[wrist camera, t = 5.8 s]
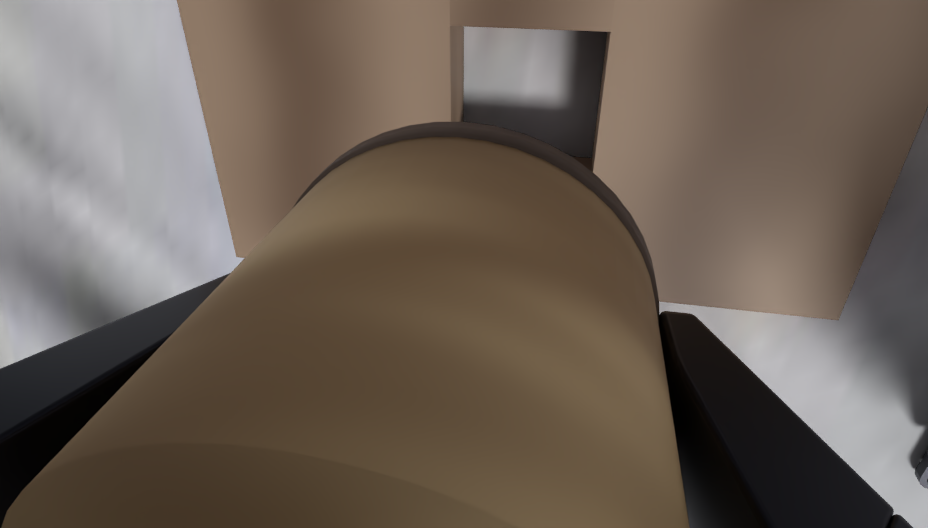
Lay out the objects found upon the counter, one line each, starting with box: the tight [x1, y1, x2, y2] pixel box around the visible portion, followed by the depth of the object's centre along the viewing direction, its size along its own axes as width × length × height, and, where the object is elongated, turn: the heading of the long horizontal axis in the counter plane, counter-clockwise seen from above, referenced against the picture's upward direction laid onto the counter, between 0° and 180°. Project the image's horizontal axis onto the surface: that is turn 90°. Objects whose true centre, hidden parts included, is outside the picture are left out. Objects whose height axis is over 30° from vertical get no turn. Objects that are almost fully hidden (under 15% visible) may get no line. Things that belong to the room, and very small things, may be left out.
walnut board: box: [177, 0, 928, 320], centre depth 17 cm, size 20×12×2 cm, turn 90°
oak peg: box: [1, 122, 690, 528], centre depth 7 cm, size 5×5×7 cm
